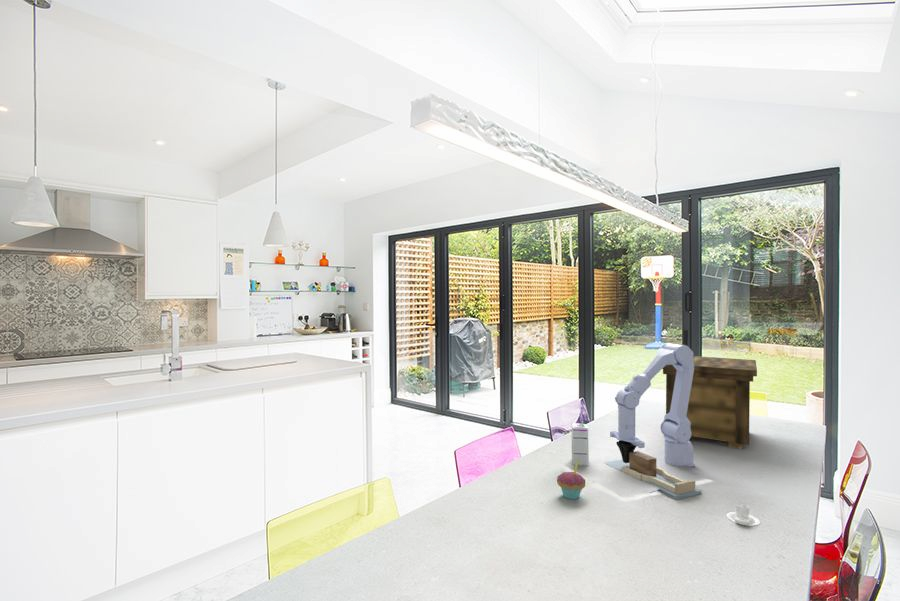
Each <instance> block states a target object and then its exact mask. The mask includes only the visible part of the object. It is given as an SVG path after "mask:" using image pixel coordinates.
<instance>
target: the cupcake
mask: <svg viewBox="0 0 900 601" xmlns="http://www.w3.org/2000/svg"><path fill="white" fill-rule="evenodd" d="M578 466H579V465H578V459H577V460H576V464H575V466H574V471H570V472H569V471H568V472H567V471H564V472H562V473H559V475H558V476H557V478H556V483H557V484H558V486H559V487H560V489H561V491H562V496H563V497H564V498H566V499H569V500H576V499H580V495H581V493H582V489H584V488H585V487H586V479H585V478H584V477H583V475H581V474H579V473H578V471H577V470H578Z"/></svg>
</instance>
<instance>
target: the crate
mask: <svg viewBox="0 0 900 601" xmlns="http://www.w3.org/2000/svg"><path fill="white" fill-rule="evenodd" d="M693 364H694V373H693V379H692V385H691V391H690V397H689V403H688V409H687V414H686V416H687V418H688V420H689V421H690V423H691V426H690V429H691V437H695V438H703V439H710V440H716V441H723V442H728V447H730V448H736V449H743V445H745V446H750V402H751V400H750V395H751V394H750V389H751V388H750V387H751V383H750V382H753V383H754V377H758V369H757V361H756V359H745V358H729V357H716V356H715V357H714V356H713V357H712V356H701V355H700V356H699V355H698V356H697V355H693ZM661 370H662V375H666V376H665V377H666V378H665V380H666V381H665V382H666V384H665V398H666V399H665V415H666V414H668V413H669V412H670V408H671V402H672V396H673V390H674V384H675V378H676V373H677V370H676V368H675V367H674V366H673V365H666V366H665V367H664V368H662V369H661Z"/></svg>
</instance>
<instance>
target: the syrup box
mask: <svg viewBox="0 0 900 601" xmlns="http://www.w3.org/2000/svg"><path fill="white" fill-rule="evenodd" d="M577 459H578V465H577V466H586V467H587V466H589V464H590V462H589V427H588V424H587V423H580V422H577V423H575V422H574V423H571V464H572V465H575V464H576V460H577Z"/></svg>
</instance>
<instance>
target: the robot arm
mask: <svg viewBox="0 0 900 601" xmlns="http://www.w3.org/2000/svg"><path fill="white" fill-rule="evenodd" d="M693 356H695V354H694V351H693V350H692V349H691V348H690V347H689V346H688V345H686V344H682V345H681V344H677V343H671V342H666V343H665V342H664V343H663V345H662V346H661V347H660V348H658V350H657V353H656V356H654V358H653V360H652V361H651V362H650V364H649V365H648V366H647V367H646V369H645V370H644V371H643V372H642V373H638V374H636V375H634V376H633V377H632V380H631V381H630V382H629V383H628V384H627V386H626V385H625V387H624V388H623V389H620V390H619V391H618V392H617V394H616V396H615V397H614V401H615V402H616V404H617V409H618V411H617V412H618V414H617V418H618V419H617V420H618V423H617V424H618V428H617V429H618V430H616V431H615V430H612V431H609V434H610V435H609V438H615V439H616V440H618V441H616V445H617V447H618V449H619V451H620V452H619V453H620V455H621V458H622V459H623V462H624V463H629V453H630V452H635V450H636V448H637V447H638V448H639V449H645V444H646V442H645V441H644V440H641V439H639V438H638V437H636V408H637V407H638V406H639V404H640V401H641V400H640V399H641V397H642V396H643V395H644V393H645V392H647V390H648V389H649V388H650V387H651V385H652V383H651V381H652V380H653V378H654V377H655V376H657V375H658V374H659V373H660V372H661V370H663V369H662V368H664V367H665V366H666V365H673V366H674V367H675V368H676V370H677V373H676V378H675V384H674V390H673V396H672V402H671V408H670V412H669V413H668V414H666V413H665V415H664V418H663V420H662V421H661V424H660V428H659V429H660V432H661V434H663V439H664V462H665V463H666V464H667V465H668V464H669V465H670V466H678V467H682V466H687V467H690V468H691V467H696V464H695V463H694V448H693V444H692V442H691V441H690V439H691V438H692V436H691V429H690V426H691V423H690V421H689V420H688V418H687V416H686V414H687V409H688V403H689V397H690V391H691V385H692V379H693V373H694V364H693Z"/></svg>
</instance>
